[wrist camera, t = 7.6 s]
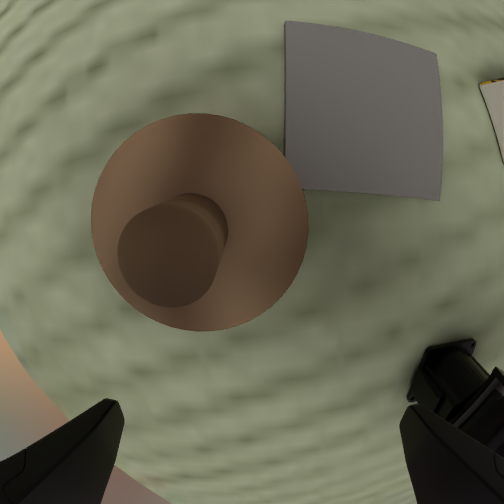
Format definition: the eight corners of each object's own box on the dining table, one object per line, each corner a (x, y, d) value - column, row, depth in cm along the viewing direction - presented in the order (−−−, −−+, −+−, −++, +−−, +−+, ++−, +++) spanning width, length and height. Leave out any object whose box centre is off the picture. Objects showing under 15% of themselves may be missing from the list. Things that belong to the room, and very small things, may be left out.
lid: (306, 117, 12) (338, 91, 7) (297, 321, 15) (314, 387, 10) (97, 128, 12) (33, 119, 7) (114, 315, 15) (73, 368, 10)
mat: (432, 55, 14) (436, 53, 13) (435, 199, 17) (440, 200, 17) (284, 24, 14) (285, 20, 13) (283, 187, 17) (284, 188, 17)
